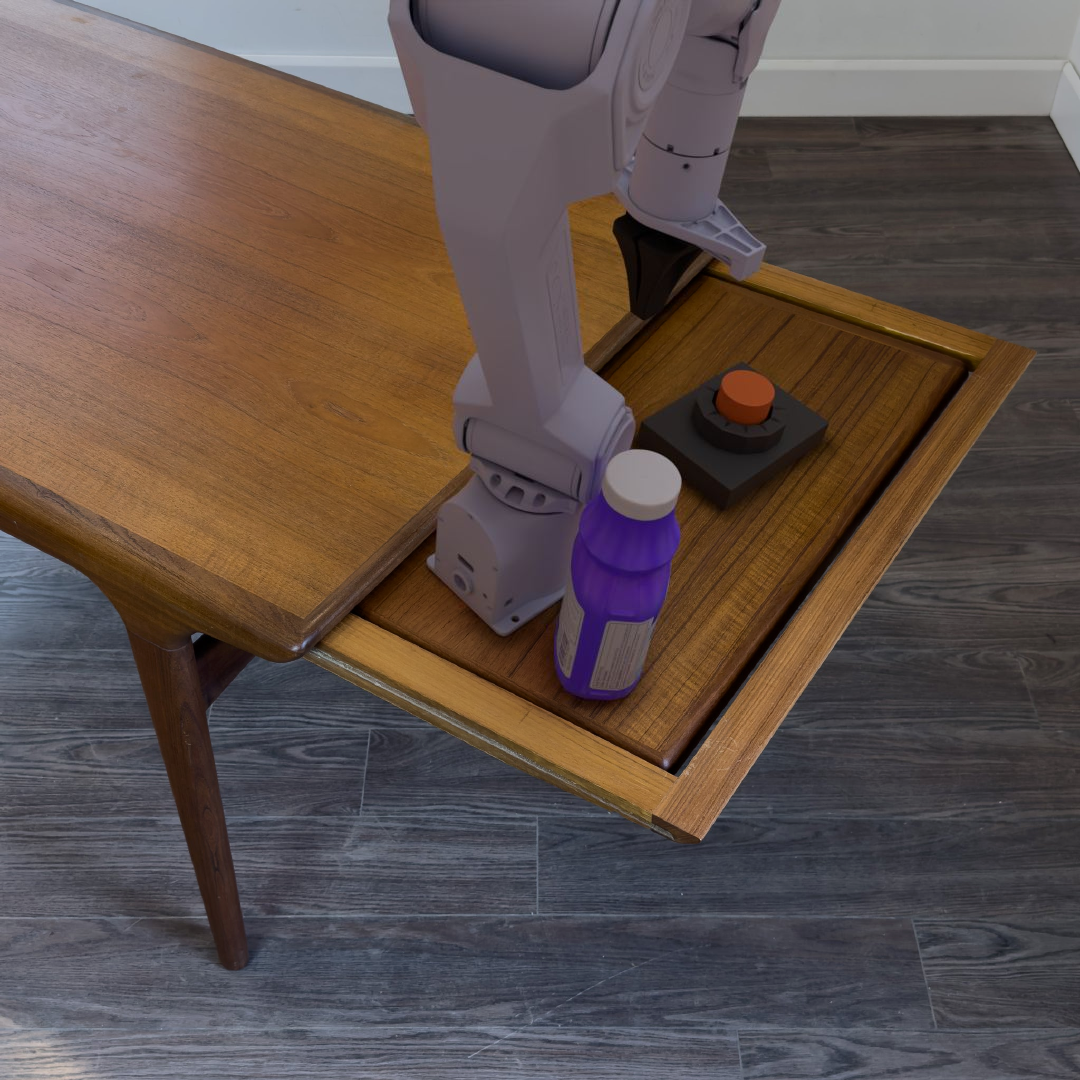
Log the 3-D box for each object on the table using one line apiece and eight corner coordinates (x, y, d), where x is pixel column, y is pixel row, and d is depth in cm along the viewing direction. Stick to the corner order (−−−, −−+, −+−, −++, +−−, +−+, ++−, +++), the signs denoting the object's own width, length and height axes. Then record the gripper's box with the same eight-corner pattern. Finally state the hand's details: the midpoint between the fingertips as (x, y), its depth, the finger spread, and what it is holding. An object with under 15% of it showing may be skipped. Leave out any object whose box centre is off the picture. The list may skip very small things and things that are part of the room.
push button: (744, 434, 81) (752, 413, 80) (704, 404, 83) (710, 383, 81) (778, 412, 83) (785, 391, 82) (738, 383, 85) (744, 362, 83)
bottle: (640, 715, 68) (703, 530, 55) (549, 707, 68) (591, 519, 55) (636, 621, 73) (693, 430, 60) (551, 613, 73) (590, 420, 60)
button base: (724, 511, 81) (737, 473, 78) (635, 442, 85) (645, 403, 82) (821, 442, 87) (837, 405, 84) (735, 381, 91) (747, 342, 88)
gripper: (817, 168, 67) (759, 343, 77) (645, 68, 73) (612, 242, 83) (744, 203, 64) (693, 383, 74) (569, 95, 70) (545, 274, 80)
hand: (646, 311), depth 78 cm, fingers closed
